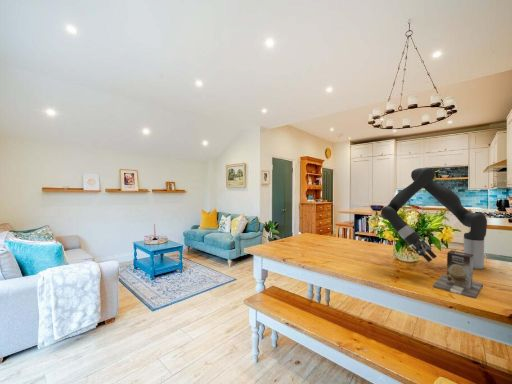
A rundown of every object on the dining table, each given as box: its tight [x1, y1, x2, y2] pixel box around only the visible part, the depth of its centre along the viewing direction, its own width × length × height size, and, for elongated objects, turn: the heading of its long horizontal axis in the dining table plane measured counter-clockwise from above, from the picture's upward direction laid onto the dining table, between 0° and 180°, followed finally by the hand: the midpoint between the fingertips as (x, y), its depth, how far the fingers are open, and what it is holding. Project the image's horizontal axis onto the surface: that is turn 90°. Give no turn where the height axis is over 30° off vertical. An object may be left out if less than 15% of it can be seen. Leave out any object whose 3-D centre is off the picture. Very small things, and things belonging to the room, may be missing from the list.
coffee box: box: [446, 249, 474, 289], centre depth 118 cm, size 9×6×16 cm
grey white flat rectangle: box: [432, 274, 484, 299], centre depth 119 cm, size 20×16×1 cm
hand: (432, 259), depth 127 cm, fingers open, 8 cm apart
